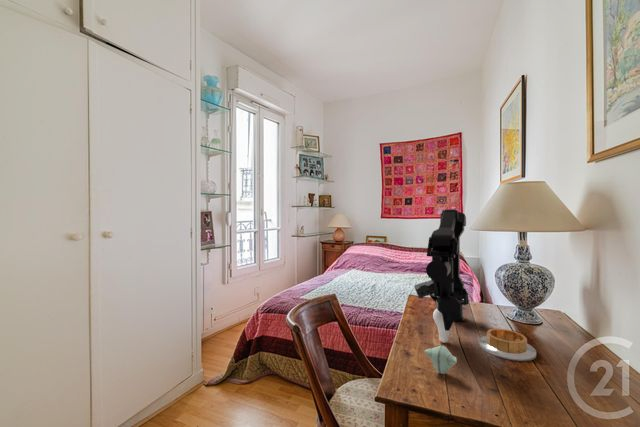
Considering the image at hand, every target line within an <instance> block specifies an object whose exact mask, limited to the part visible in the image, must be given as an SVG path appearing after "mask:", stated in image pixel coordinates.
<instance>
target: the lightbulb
mask: <svg viewBox="0 0 640 427" xmlns="http://www.w3.org/2000/svg"><path fill="white" fill-rule="evenodd" d="M432 318H433V321H434V323H435V325H436V327H437V331H438V335H439V336H438V338H439V341H440V342H442V343H444V344H446V343H448V342H449V335H450V332H451V329H450V330H449V331H446V330H445V328H444V323H443V317H442V313H441V312H439V311H438V309H437V308H436V309H434V310H433V314H432ZM454 322H455V321H454ZM454 322H453V324H454ZM453 324H452V326H453Z"/></svg>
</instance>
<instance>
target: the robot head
mask: <svg viewBox="0 0 640 427" xmlns="http://www.w3.org/2000/svg"><path fill="white" fill-rule="evenodd" d="M423 353H424V354H425V355H426V356H427V357H428V358H429V359H430V361H431V363H432V365H433V367H434V370H435V371H436V372H437V373H439V374H440V375H446V374H447V373H448V372H449V371H450V370H451V368H452V367H453V366H455V364H457V363H458V362H457V357H456V356H454V355H452V353H451V352H450V351H449V349H448V348H447V347H446V346H444V345H438V346H435V347H432V348H426V349H425V350H424V351H423Z"/></svg>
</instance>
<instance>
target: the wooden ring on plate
mask: <svg viewBox="0 0 640 427" xmlns="http://www.w3.org/2000/svg"><path fill="white" fill-rule="evenodd" d="M478 345H479V347H480V348H481V349H482V350H483V351H484V352H486V353H488V354H490V355H492V356H494V357H497V358H501V359H504V360H507V361H508V360H509V361H513V362H531V361H533V360H535V359H536V358H537V350H536V349H535V348H534V346H532V345H531V344H529V343H528V338H527V337H526V336H525V335H524V334H522V333H519V332H517V331H514V330H510V329H505V328H490V329H488V330H487V331H486V335H484V336H481V337H480V338H479V340H478Z"/></svg>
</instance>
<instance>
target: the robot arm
mask: <svg viewBox="0 0 640 427" xmlns="http://www.w3.org/2000/svg"><path fill="white" fill-rule="evenodd" d="M465 227H467V217H466V214H465V213H463V212H460V211H459V210H458V209H455V208H454V209H453V208H451V209H450V208H449V209H443V210H442V212H441V213H440V221H439V227H438V228H437V229H435V230H433V232H432V234H431V235H430V236H429V237H428V244H427V250H426V257H431V261H430V262H429V263H427V265H426V268H425V272H426V275H427V276H428V277H429V279H430V280H426V281H423V282H420V283H417V284H415V285H414V286H413V287H414V290H415V293H416V294H417V297H418V298H417V299H424V297H428V296H429V297H430V298H431V300H433V301H434V303H435V308H436V309H438V311H439V312H441V313H442V317H443V323H444V328H445V330H446V331H449V330H450V331H451V328H452V326H453V325H452V324H454V323H453V322H466V321H467V320H466V319H465V317H464V312H463V311H464V310H463V309H464V306H467V305H469V304H470V303H469V301H470V300H469V293H468V291H467V288H465V282H464V281H463V279H462V277H461V276H460V274H461V271H460V270H461V269H460V268H461V264H460V263H461V262H460V260H461V259H460V258H461V257H460V255H461V254H460V252H461V251H460V250H461V248H460V244H461V241H460V240H461V238H460V237H461V236H462V235H463V233H464V232H465ZM463 305H464V306H463Z"/></svg>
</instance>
